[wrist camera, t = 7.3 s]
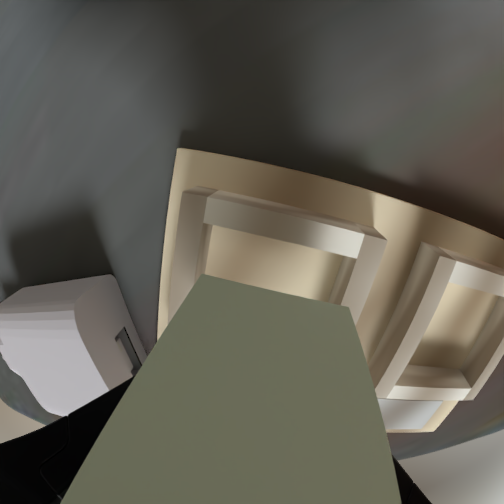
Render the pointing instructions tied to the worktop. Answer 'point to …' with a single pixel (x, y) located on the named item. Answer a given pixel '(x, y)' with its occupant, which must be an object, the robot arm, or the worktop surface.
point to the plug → (245, 410)
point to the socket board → (347, 272)
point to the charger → (70, 340)
